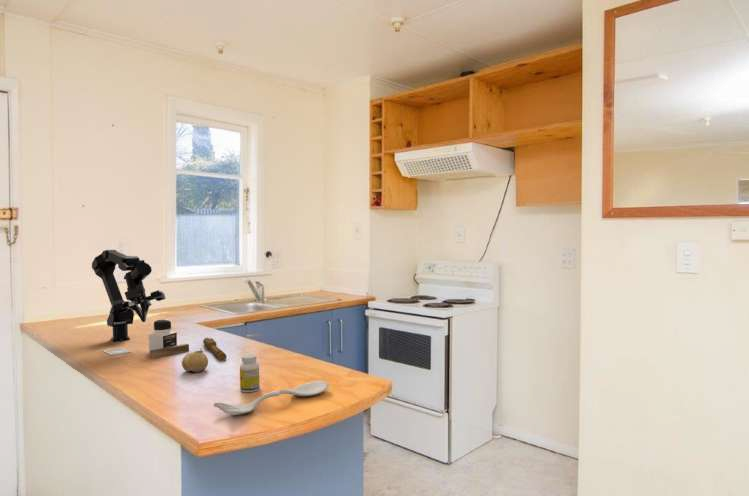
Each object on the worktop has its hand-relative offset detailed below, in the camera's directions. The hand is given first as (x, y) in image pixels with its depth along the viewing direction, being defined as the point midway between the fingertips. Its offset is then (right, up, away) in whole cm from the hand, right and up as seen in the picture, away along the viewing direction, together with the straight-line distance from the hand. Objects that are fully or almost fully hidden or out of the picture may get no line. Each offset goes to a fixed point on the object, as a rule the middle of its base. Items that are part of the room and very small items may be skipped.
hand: (144, 321), depth 196 cm
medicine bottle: (+11, -10, -7) cm, 17 cm away
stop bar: (+15, -10, -11) cm, 21 cm away
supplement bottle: (+55, -12, -53) cm, 78 cm away
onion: (+32, -11, -34) cm, 48 cm away
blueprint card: (-7, -10, -7) cm, 14 cm away
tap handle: (+30, -10, -8) cm, 33 cm away
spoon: (+65, -12, -64) cm, 92 cm away
